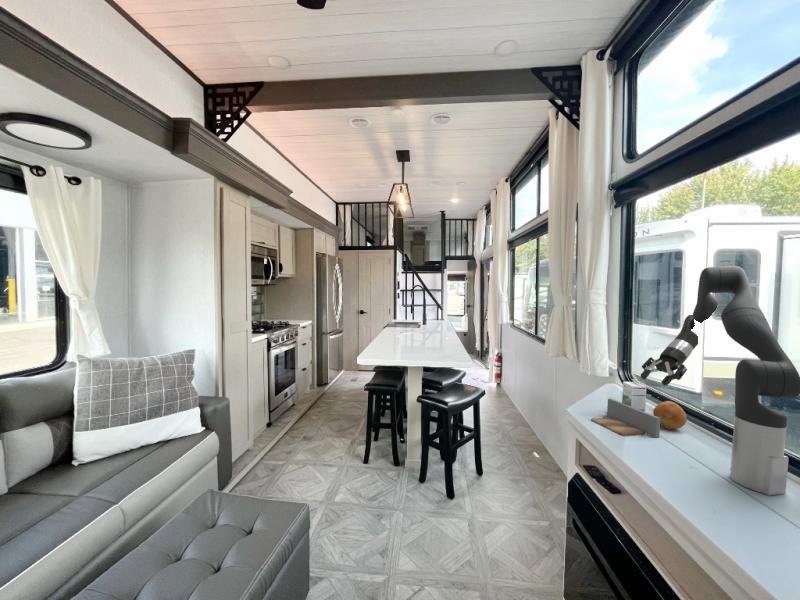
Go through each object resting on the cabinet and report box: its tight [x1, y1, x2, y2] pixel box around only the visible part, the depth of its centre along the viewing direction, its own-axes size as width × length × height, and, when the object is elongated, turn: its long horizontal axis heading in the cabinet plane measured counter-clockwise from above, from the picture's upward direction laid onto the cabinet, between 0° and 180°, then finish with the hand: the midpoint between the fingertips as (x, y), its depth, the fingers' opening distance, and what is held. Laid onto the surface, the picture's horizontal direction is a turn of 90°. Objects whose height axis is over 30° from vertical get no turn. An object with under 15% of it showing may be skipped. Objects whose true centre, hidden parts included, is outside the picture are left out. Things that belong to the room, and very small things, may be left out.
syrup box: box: [621, 381, 647, 412], centre depth 130 cm, size 6×6×14 cm
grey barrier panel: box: [606, 398, 661, 439], centre depth 123 cm, size 20×2×7 cm, turn 14°
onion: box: [652, 400, 688, 430], centre depth 123 cm, size 10×10×10 cm
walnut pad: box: [590, 416, 647, 437], centre depth 122 cm, size 14×10×1 cm
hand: (652, 381), depth 131 cm, fingers open, 8 cm apart
